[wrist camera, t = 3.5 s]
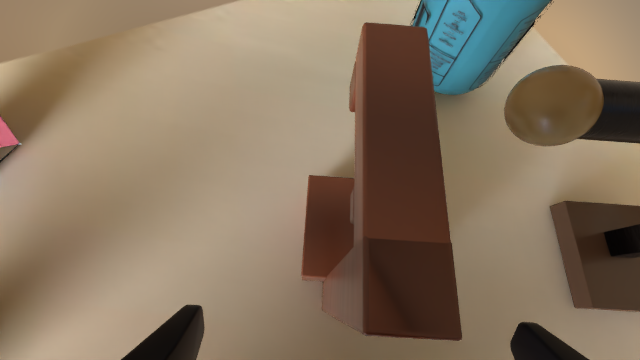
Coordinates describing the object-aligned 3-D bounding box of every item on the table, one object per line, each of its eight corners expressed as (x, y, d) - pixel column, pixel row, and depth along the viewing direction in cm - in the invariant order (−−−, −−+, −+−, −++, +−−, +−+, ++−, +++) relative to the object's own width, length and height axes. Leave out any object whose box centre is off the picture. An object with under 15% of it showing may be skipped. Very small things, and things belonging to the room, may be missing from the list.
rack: (660, 313, 17) (1737, 351, 4) (376, 296, 17) (611, 281, 4) (625, 211, 19) (1258, 35, 6) (374, 194, 19) (520, -28, 6)
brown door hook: (372, 313, 16) (539, 345, 5) (299, 309, 16) (286, 331, 5) (371, 195, 19) (477, 29, 7) (308, 191, 19) (313, 16, 7)
